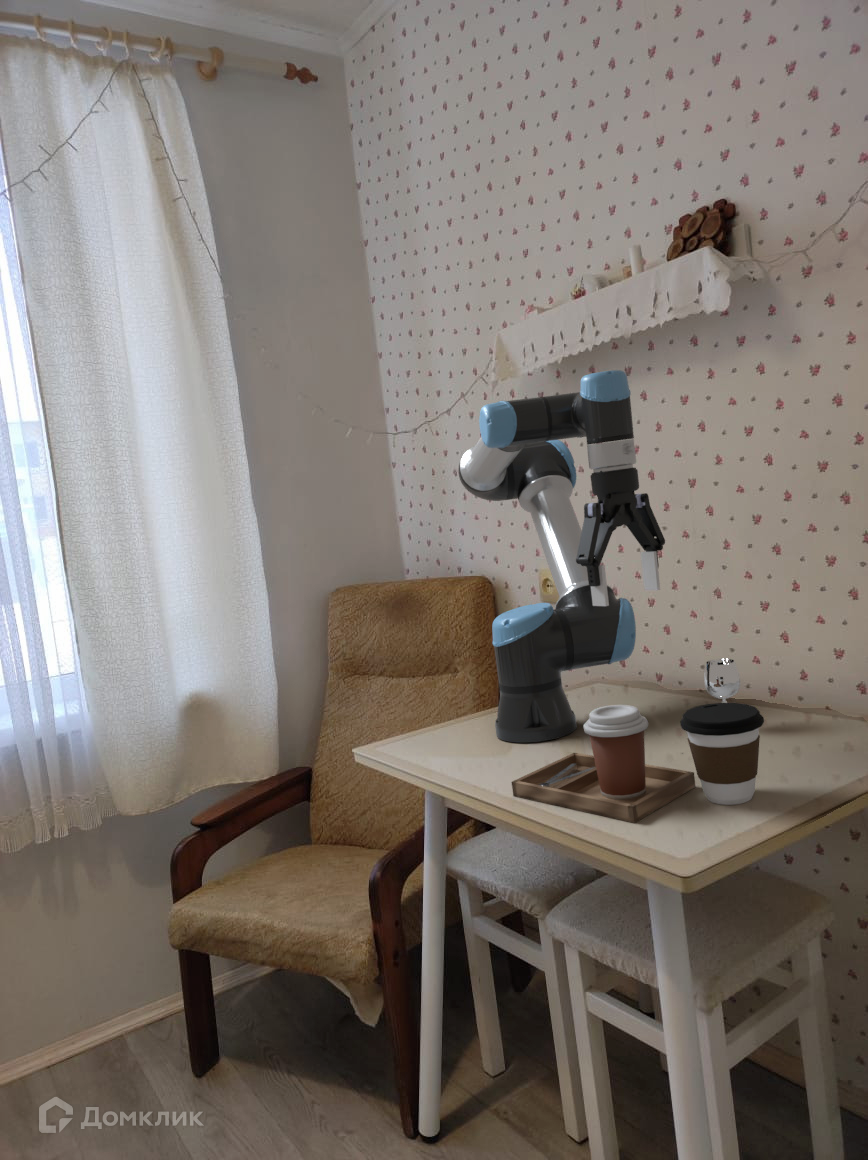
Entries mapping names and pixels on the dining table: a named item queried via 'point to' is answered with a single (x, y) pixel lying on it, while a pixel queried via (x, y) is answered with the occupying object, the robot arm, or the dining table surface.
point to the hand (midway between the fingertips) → (627, 597)
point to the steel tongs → (564, 776)
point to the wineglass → (721, 678)
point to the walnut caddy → (587, 792)
